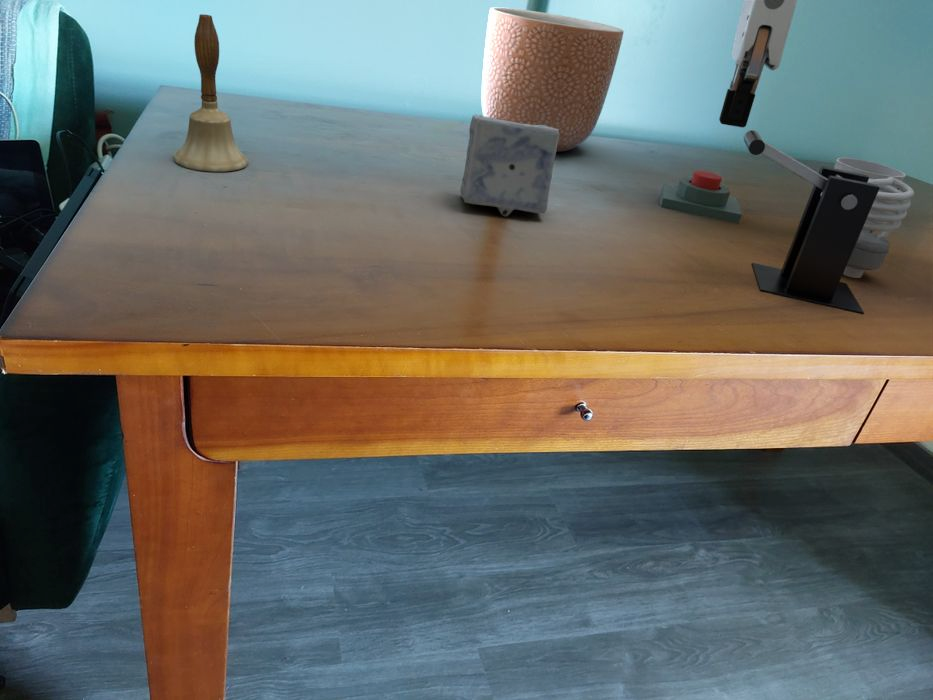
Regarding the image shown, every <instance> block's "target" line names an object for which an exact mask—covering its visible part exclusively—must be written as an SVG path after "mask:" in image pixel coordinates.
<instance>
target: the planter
mask: <svg viewBox="0 0 933 700" xmlns="http://www.w3.org/2000/svg"><path fill="white" fill-rule="evenodd" d="M485 34H486V35H485V44H484V53H483V64H482V67H483V68H482V76H481V110H482V116H485V117H488V118H494V119H498V120H506V121H511V122H516V123H522V124H530V125H546V126H548V127H552V128H555V129H558V130H559V141H558V144H557V151H556V153H559V152H568V151H571V150H573V149H575V148H577V147H578V146H580V145H581V144H582V143H584V142H585V141H586V140H587V139H588V138H590V136H591V134H592V133H593V132H594V130H595V128H596V126H597V124H598V121H599V118H600V116H601V113H602V111H603V108H604V105H605V102H606V98H607V95H608V92H609V89H610V86H611V83H612V79H613V76H614V72H615V68H616V65H617V61H618V58H619V54H620V49H621V46H622V42H623V38H624V30H623V29H622V28H619V27H616V26H612V25H609V24H605V23H600V22H597V21H592V20H587V19H583V18H582V19H581V18H576V17H571V16H567V15H561V14H554V13H548V12H542V11H537V10H536V11H535V10H527V9H523V8H522V9H521V8H513V7H503V6H502V7H501V6H500V7H499V6H494V7H493V6H492V7H490V8H489V12H488V20H487V27H486V33H485Z"/></svg>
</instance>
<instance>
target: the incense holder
mask: <svg viewBox="0 0 933 700" xmlns="http://www.w3.org/2000/svg"><path fill="white" fill-rule="evenodd" d="M468 131H469V139H468V145H467V149H466V159H465V165H464V171H463V177H462V179H461V185H460V189H459V192H460V195H461V196H462V199H463V201H464V203H466V204H471V205H480V206H487V207H493V208H497V210H498V211H499V213H500V215H501V216H502V217H508V216H510V214H511V213H512V212H513V211H514V210H517V211H522V212H527V213H528V212H529V213H534V214H545V213H546V212H547V209H548V204H549V196H550V190H551V183H552V178H553V172H554V171H553V170H554V165H555V160H556V154H557V152H556V151H557V144H558V141H559V130H558V129H555V128H552V127H548V126H546V125H530V124H522V123H516V122H511V121H506V120H498V119H494V118H488V117H485V116H483V115H480V114H473V115H472V117H471V120H470V124H469V130H468Z"/></svg>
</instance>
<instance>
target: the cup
mask: <svg viewBox="0 0 933 700" xmlns="http://www.w3.org/2000/svg"><path fill="white" fill-rule="evenodd" d="M833 168H834V169H839V170H844V171H849V172H854V173H859V174H864V175H867V176H868V177H869V179H887V178H889V177H893V178H896V179H898V180H900V181H902V182H903V183H904V180H905V178H906V176H907V175H906V173H904V172H903V171H901V170H899V169H896V168H894V167H892V166H888V165H884V164H881V163H878V162H874V161H870V160H865V159H859V158H851V157H838V158H836V159H835V164H834V166H833ZM889 186H891V187H893V188H895V189H897V190H899V191H900V189H899V188H897V187H895V186H893V185H889ZM878 192H884V191H881V190H879V191H878ZM885 193H886V192H885ZM874 202H875V203H882V202H879V201H877V200H875V201H874ZM883 204H884V203H883ZM869 213H874V214H880V213H878V212H875V211H873V210H870V212H869ZM865 223H869V224H875V223H873V222H871V221H868V220H866V221H865ZM862 231H866V232H869V233H872V234H874V232H875V231H869V230H862Z"/></svg>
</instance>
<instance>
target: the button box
mask: <svg viewBox="0 0 933 700" xmlns="http://www.w3.org/2000/svg"><path fill="white" fill-rule="evenodd" d="M692 178H693V177H689V176H686V177H680V178H679V181H678V185H675V184H669V183H665V182H663V183H662V186H661V190H660V193H659V197H658V206H659V207H660V208H664V209H668V210H673V211H677V212H683V213H687V214H691V215H696V216H701V217H706V218H711V219H714V220H715V219H716V220H720V221H724V222H729V223H733V224H739V223H740V221H741V218H742V211H741V208H740V206H739V202H738V199H737V198H736V197H733V196H730V195H731V189H730V188H729V187H728V186H726V185H724V184H722V183H720V186H719V189H718V190H709V189H704V188H700V187H697V186H694V185H692V184H691V181H692Z"/></svg>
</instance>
